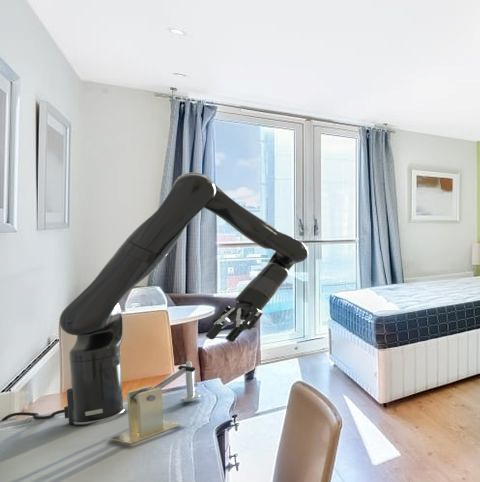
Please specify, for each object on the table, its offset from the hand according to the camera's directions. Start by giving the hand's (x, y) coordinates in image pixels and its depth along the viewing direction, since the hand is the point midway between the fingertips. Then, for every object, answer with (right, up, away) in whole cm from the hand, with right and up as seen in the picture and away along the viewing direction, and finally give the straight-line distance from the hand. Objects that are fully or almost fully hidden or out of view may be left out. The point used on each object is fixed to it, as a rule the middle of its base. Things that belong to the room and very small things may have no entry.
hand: (218, 339), depth 123 cm
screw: (-11, -20, +4) cm, 24 cm away
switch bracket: (-5, -21, -15) cm, 26 cm away
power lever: (-4, -10, -11) cm, 16 cm away
